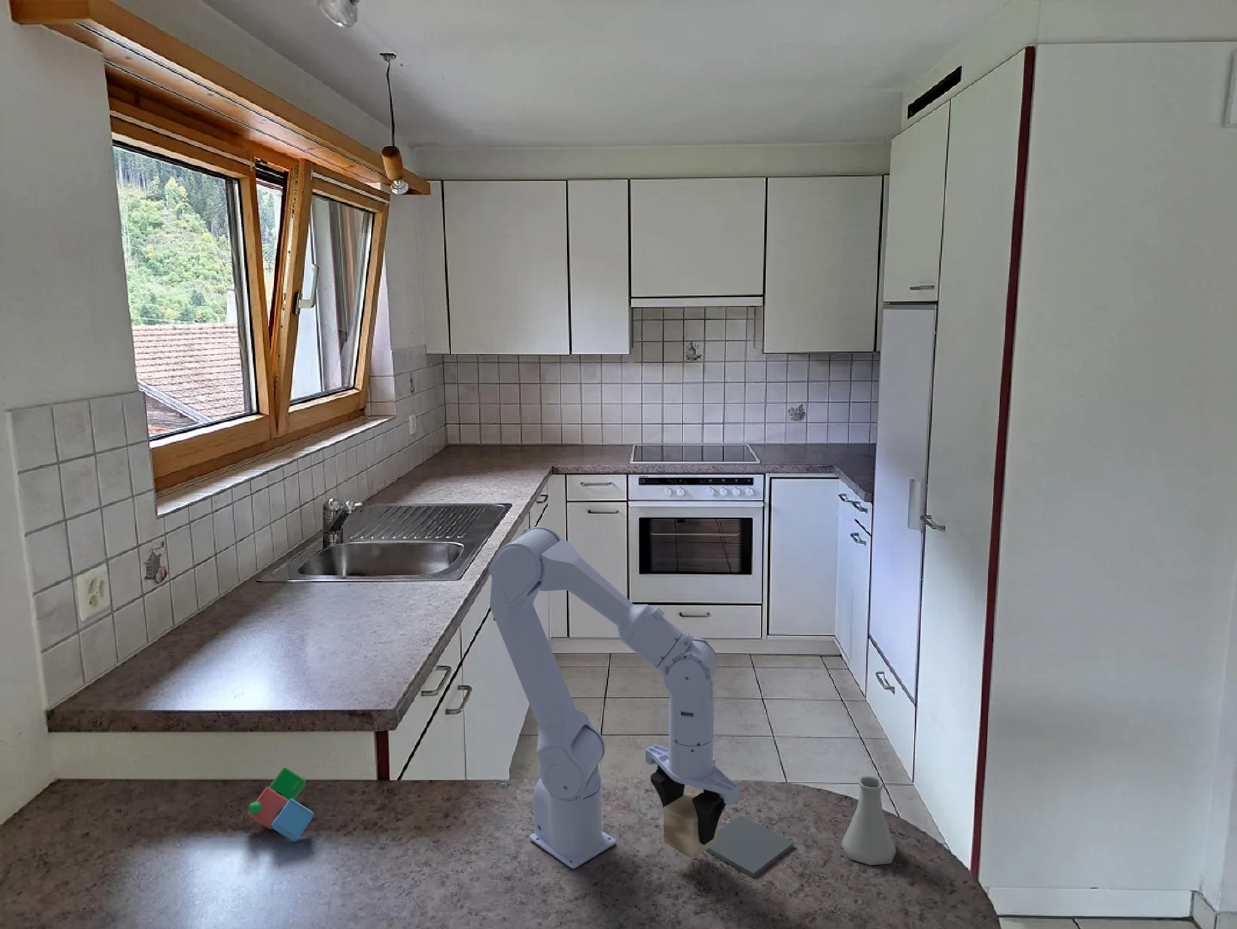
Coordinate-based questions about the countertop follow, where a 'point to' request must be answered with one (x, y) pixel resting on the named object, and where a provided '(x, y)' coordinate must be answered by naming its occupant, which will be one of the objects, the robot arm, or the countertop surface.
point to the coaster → (749, 846)
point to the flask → (869, 827)
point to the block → (684, 827)
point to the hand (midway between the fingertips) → (690, 831)
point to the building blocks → (282, 806)
